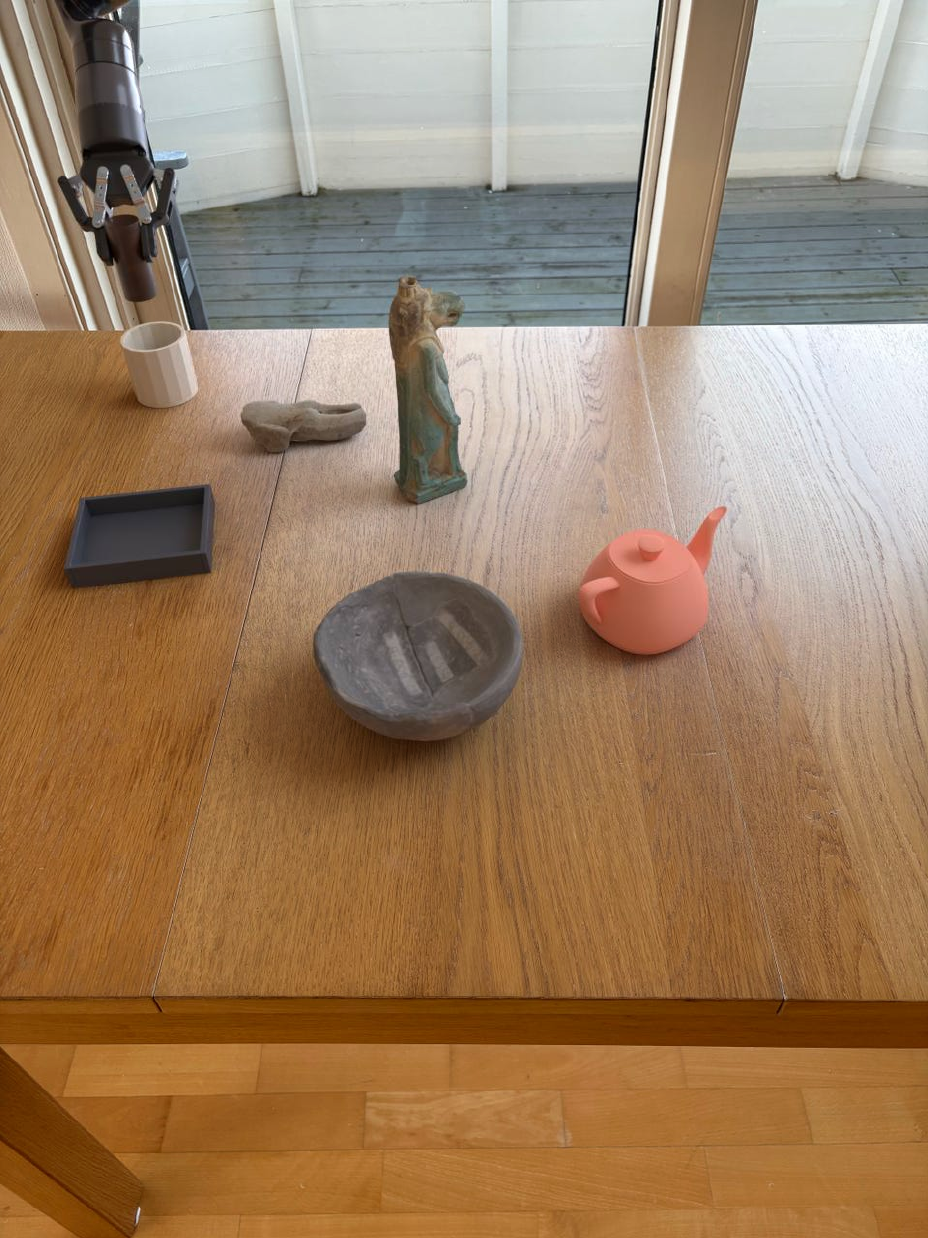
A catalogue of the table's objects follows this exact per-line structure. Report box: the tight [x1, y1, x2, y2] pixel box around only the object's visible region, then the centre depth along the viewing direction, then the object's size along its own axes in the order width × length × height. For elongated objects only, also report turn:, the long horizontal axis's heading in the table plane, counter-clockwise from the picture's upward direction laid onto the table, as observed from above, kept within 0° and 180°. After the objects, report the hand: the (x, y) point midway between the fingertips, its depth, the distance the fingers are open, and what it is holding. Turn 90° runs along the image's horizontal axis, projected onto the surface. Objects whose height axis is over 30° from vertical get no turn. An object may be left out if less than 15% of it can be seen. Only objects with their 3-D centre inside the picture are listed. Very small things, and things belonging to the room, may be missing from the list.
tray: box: [63, 483, 216, 589], centre depth 102 cm, size 14×12×3 cm
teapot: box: [577, 505, 728, 656], centre depth 90 cm, size 12×18×10 cm
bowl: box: [312, 570, 524, 742], centre depth 83 cm, size 18×18×8 cm
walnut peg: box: [104, 213, 159, 303], centre depth 113 cm, size 4×4×9 cm
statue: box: [388, 275, 468, 505], centre depth 101 cm, size 7×8×25 cm
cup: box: [119, 320, 199, 409], centre depth 123 cm, size 8×8×8 cm
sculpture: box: [240, 399, 367, 453], centre depth 116 cm, size 7×5×15 cm
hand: (128, 261), depth 111 cm, fingers closed on walnut peg, 4 cm apart
